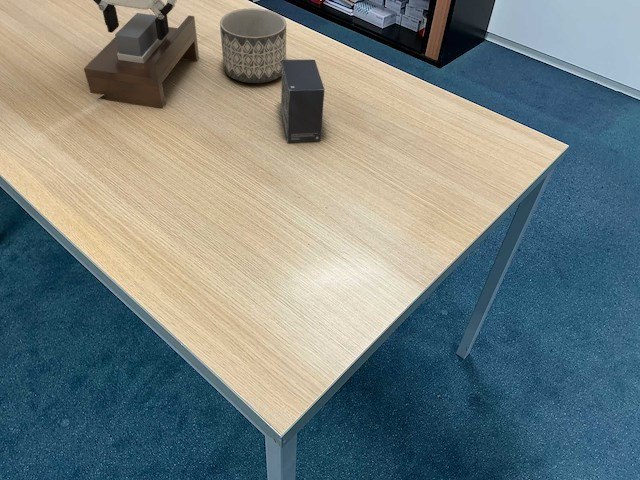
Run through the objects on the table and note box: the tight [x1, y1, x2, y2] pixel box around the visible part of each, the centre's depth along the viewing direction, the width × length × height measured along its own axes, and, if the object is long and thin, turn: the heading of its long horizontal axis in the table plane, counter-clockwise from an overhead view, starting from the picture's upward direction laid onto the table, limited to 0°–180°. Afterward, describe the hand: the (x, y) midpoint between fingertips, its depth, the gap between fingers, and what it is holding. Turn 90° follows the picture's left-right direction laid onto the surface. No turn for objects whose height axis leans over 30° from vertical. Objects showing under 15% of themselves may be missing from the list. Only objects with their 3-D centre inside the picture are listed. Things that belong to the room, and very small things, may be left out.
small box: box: [280, 59, 325, 143], centre depth 96 cm, size 11×6×10 cm, turn 9°
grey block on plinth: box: [114, 12, 166, 64], centre depth 103 cm, size 11×5×5 cm, turn 169°
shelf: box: [83, 14, 200, 109], centre depth 105 cm, size 14×20×9 cm
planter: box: [219, 7, 287, 84], centre depth 108 cm, size 13×13×10 cm
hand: (138, 33), depth 102 cm, fingers open, 9 cm apart
